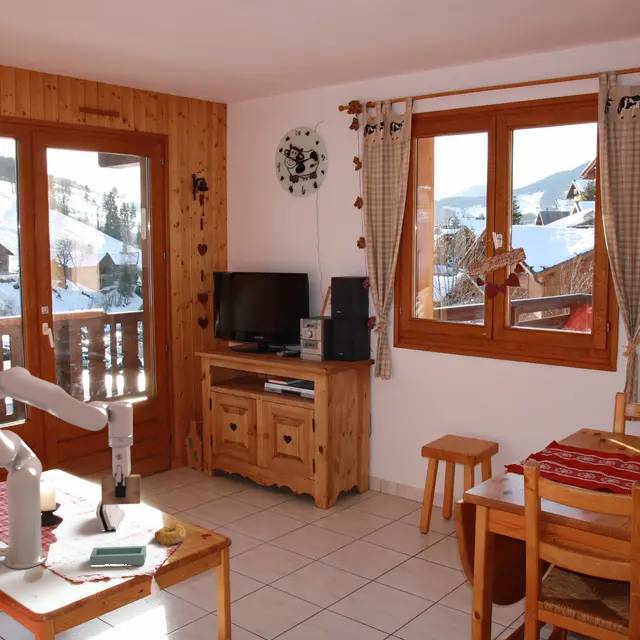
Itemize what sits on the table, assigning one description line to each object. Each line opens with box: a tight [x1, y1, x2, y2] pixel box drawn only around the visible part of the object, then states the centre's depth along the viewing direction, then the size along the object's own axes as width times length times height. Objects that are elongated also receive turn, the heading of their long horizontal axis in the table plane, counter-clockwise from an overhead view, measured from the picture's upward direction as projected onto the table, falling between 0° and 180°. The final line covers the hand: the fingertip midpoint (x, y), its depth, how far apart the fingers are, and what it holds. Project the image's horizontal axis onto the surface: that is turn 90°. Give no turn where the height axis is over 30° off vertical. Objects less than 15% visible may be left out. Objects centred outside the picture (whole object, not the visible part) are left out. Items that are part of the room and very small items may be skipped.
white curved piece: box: [95, 499, 126, 531], centre depth 267 cm, size 17×5×10 cm, turn 4°
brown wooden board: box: [100, 474, 141, 505], centre depth 241 cm, size 12×2×9 cm, turn 99°
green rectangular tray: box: [89, 545, 147, 566], centre depth 236 cm, size 16×7×4 cm, turn 98°
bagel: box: [154, 523, 187, 546], centre depth 254 cm, size 10×11×5 cm
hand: (120, 495), depth 242 cm, fingers closed on brown wooden board, 2 cm apart
